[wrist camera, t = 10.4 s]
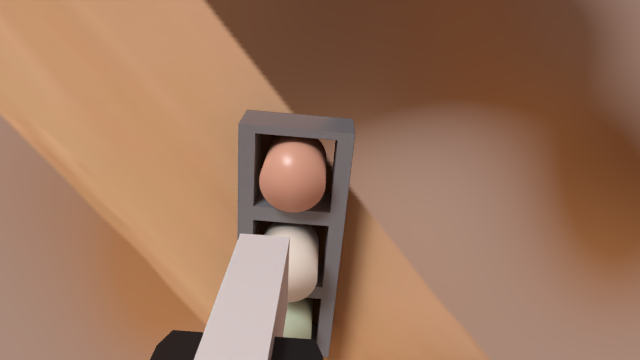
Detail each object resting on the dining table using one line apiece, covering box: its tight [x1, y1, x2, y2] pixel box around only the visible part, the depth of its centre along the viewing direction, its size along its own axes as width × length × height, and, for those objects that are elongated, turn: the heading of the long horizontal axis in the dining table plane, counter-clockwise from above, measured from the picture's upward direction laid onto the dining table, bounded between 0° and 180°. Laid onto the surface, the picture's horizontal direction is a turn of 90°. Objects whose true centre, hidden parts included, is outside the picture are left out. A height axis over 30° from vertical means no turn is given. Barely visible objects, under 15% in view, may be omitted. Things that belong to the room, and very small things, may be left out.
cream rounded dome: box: [264, 222, 319, 303], centre depth 31 cm, size 4×4×4 cm
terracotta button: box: [259, 135, 326, 213], centre depth 29 cm, size 4×4×4 cm
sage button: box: [283, 298, 313, 339], centre depth 34 cm, size 4×4×4 cm
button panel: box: [238, 110, 355, 357], centre depth 32 cm, size 18×7×3 cm, turn 175°
